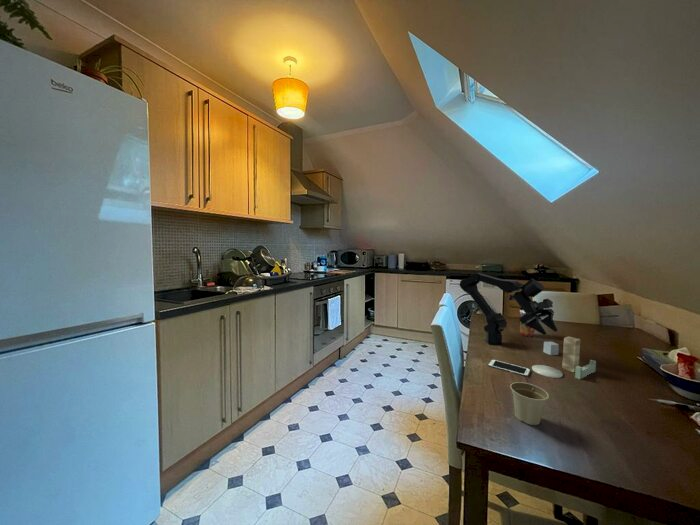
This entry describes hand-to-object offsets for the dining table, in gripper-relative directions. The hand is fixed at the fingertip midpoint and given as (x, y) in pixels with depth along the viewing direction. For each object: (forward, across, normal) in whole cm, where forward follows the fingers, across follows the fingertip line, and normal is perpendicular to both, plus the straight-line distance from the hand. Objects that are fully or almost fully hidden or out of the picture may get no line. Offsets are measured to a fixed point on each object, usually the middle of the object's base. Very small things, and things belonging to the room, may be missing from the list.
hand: (551, 332), depth 115 cm
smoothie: (-8, +29, +27) cm, 40 cm away
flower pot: (+22, -49, -2) cm, 54 cm away
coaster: (+12, -11, +6) cm, 18 cm away
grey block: (+6, +12, +13) cm, 18 cm away
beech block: (+15, 0, +4) cm, 15 cm away
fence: (+18, 0, 0) cm, 18 cm away
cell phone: (+6, -22, +13) cm, 26 cm away
